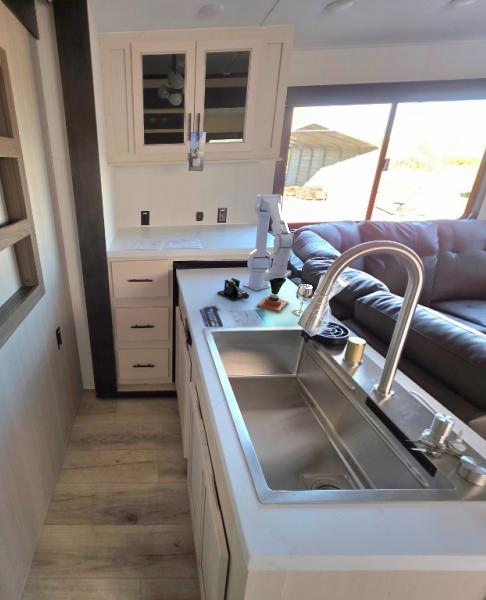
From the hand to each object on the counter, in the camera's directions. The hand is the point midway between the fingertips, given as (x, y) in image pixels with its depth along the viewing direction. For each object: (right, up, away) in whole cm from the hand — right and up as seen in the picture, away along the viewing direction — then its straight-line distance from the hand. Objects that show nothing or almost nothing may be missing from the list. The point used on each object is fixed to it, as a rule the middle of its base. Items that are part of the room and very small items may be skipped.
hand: (274, 293), depth 134 cm
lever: (-14, +1, +7) cm, 15 cm away
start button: (0, -3, +1) cm, 3 cm away
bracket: (-16, -1, +12) cm, 19 cm away
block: (0, -5, +2) cm, 5 cm away
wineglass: (+8, -8, -5) cm, 13 cm away
